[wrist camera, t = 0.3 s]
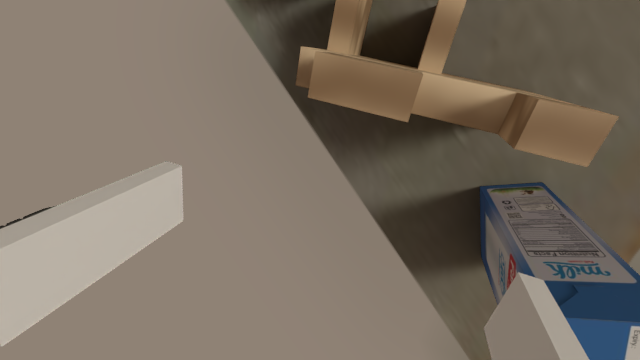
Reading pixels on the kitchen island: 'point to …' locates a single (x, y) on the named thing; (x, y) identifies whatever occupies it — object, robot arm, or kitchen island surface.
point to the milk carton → (562, 266)
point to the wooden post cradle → (444, 89)
